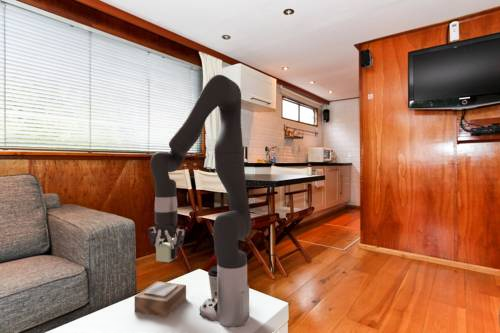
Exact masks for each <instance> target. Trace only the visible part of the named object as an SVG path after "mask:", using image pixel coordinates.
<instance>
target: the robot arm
mask: <svg viewBox="0 0 500 333" xmlns="http://www.w3.org/2000/svg"><path fill="white" fill-rule="evenodd" d="M199 94H200V95H199V96H198V98H197V100H196V101H195V103H194V105H193V106H192V108H191V110H190V112H189V113H188V116H187V117H186V119H185V120H184V122H183V123H182V124H181V126H180V127H179V128H178V129H177V131H176V132H175V133H174V134H173V136H172V137H171V138H170V140H169V142H168V147H169V149H170V150H169V151H167V152H165V151H157V152H154V153H153V155H152V156H151V158H150V162H149V164H150V165H149V166H150V171H151V176H152V179H153V182H154V185H155V187H154V188H155V197H154V198H155V200H154V224H155V226H151V227H149V228H147V233H148V237H149V241H150V245H151V246H154V247H155V248H156V246H158V245H160V244H162V243H164V241H165V240H167V243H170V246H171V248H172V249H171V259H172V261H174V260H176V259H177V258H178V248H180V247H181V246H183V244H184V239H185V235H186V234H185V233H186V230H185V229H184V228H183V229H180V228H179V227H178V198H177V197H178V196H177V181H176V180H174V179H172V178H170V177H171V176H170V175H169V173H173V172H176V171H177V170H179V169H180V168H181V166H182V164H183V162H185V161H184V160H185V159H186V156H187V153H188V152H189V151H190V150H191V148H192V147H193V146H194V145H195V144H196V143H197V141H198V140H199V138H200V137H201V135H202V133H203V128H204V126H205V124H206V121H207V119H208V117H209V116H210V115H211V113H212V112H213V111H214V110H215V109H216V108H217V107H218V110H219V112H218V113H219V120H220V121H219V122H220V124H219V130H218V131H219V132H218V135H217V137H216V141H215V144H214V149H213V150H214V152H213V153H214V167H215V172H216V174H217V176H218V178H219V180H220V182H221V184H222V185H223V187H224V189H225V191H226V194H227V197H228V206H229V207H228V208H229V211H226V212H223V213H220V214H218V215H217V216H216V217H215V219H214V223H213V245H214V246H213V247H214V253H215V258H216V260H217V262H216V266H217V306H216V307H217V311H216V314H217V322H218V323H219V324H220V325H222V326H224V327H238V326H242V327H243V326H245V324H246V322H247V320H248V319H249V317H250V286H249V284H248V257H247V253H246V252H245V251H243V250H239V241H240V240H243V239H245V238H247V237H248V236H249V235H250V234H251V231H252V225H253V224H252V214H251V211H250V205H249V198H248V192H247V182H246V173H245V170H246V168H245V153H244V148H243V147H244V144H243V134H242V133H243V132H242V131H243V130H242V122H241V121H242V90H241V88H240V87H239V85H238V83H237V82H234V80H232V79H230V78H229V77H227V76H225V75H224V74H223V75H222V74H215V75H213V76H212V77H210V78H209V79H208V81H207V82H206V83H205V85H204V86H203V88H202V90H201V92H200V93H199ZM176 257H177V258H176Z"/></svg>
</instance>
